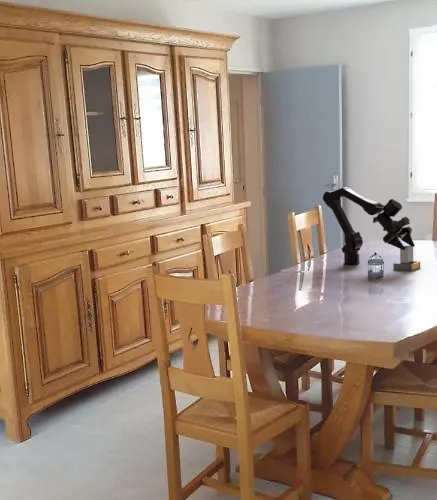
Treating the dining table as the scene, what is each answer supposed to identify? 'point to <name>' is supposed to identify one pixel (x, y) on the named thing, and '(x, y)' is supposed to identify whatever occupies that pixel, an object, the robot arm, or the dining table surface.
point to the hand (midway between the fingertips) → (409, 247)
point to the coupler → (406, 266)
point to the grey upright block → (406, 255)
